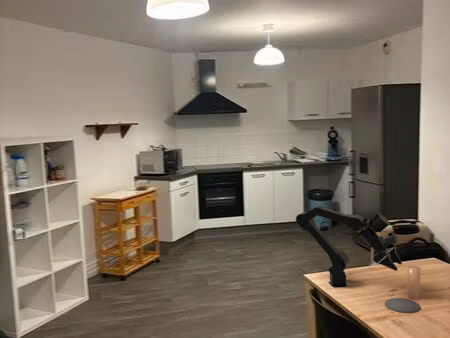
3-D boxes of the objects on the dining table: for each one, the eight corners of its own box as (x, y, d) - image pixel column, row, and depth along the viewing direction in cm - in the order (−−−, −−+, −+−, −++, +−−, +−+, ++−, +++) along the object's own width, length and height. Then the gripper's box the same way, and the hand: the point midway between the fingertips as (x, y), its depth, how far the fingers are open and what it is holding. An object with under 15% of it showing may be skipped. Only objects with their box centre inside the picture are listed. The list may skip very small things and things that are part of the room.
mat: (395, 314, 173) (395, 312, 173) (379, 301, 186) (379, 299, 186) (426, 311, 175) (426, 309, 175) (407, 298, 188) (407, 296, 188)
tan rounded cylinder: (411, 299, 187) (411, 270, 186) (404, 295, 192) (404, 266, 191) (422, 298, 188) (423, 269, 186) (415, 293, 193) (416, 265, 192)
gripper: (381, 232, 185) (409, 261, 180) (390, 223, 201) (417, 250, 196) (362, 248, 190) (389, 277, 185) (373, 238, 206) (398, 265, 201)
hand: (399, 267), depth 192 cm, fingers open, 9 cm apart
